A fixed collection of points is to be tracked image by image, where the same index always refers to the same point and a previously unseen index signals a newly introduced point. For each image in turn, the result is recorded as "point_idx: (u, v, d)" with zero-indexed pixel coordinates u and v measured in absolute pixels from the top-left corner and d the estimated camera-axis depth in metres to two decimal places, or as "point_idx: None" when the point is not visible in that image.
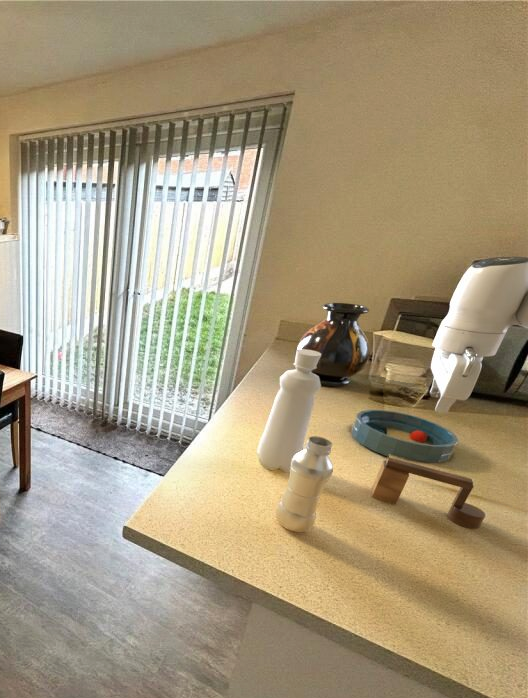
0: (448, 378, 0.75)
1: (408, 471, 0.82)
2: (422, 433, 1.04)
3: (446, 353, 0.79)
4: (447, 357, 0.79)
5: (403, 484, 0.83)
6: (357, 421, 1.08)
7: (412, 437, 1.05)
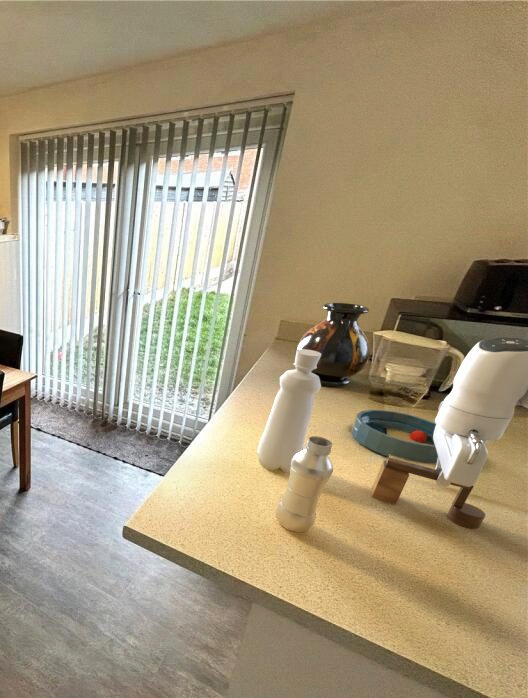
0: (452, 463, 0.72)
1: (408, 471, 0.82)
2: (422, 433, 1.04)
3: (450, 432, 0.76)
4: (451, 437, 0.75)
5: (403, 484, 0.83)
6: (357, 421, 1.08)
7: (412, 437, 1.05)
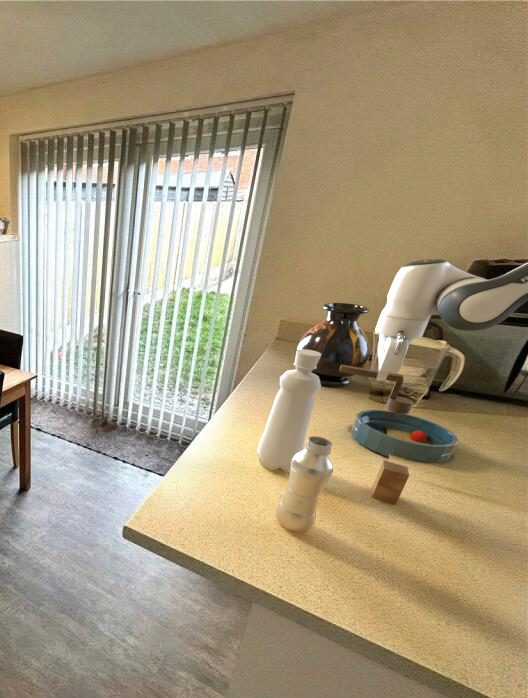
0: (384, 356, 0.94)
1: (356, 373, 1.05)
2: (422, 433, 1.04)
3: (385, 336, 0.98)
4: (385, 340, 0.98)
5: (403, 484, 0.83)
6: (357, 421, 1.08)
7: (412, 437, 1.05)
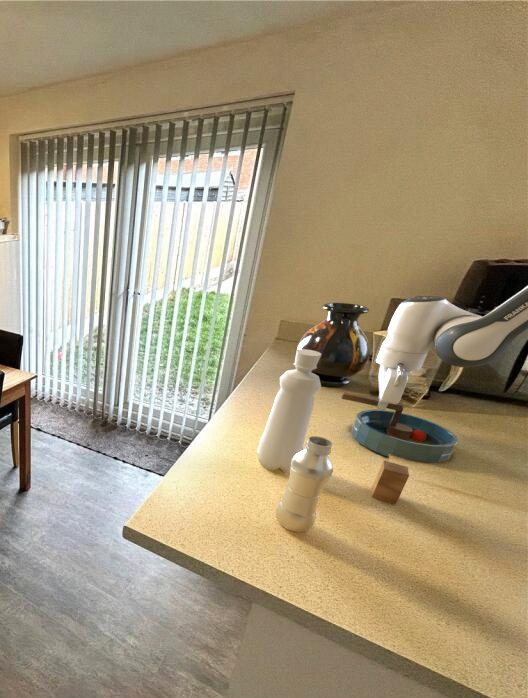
0: (384, 387, 0.98)
1: (357, 401, 1.09)
2: (421, 431, 1.05)
3: (385, 367, 1.02)
4: (386, 370, 1.02)
5: (403, 484, 0.83)
6: (357, 421, 1.08)
7: (412, 436, 1.06)
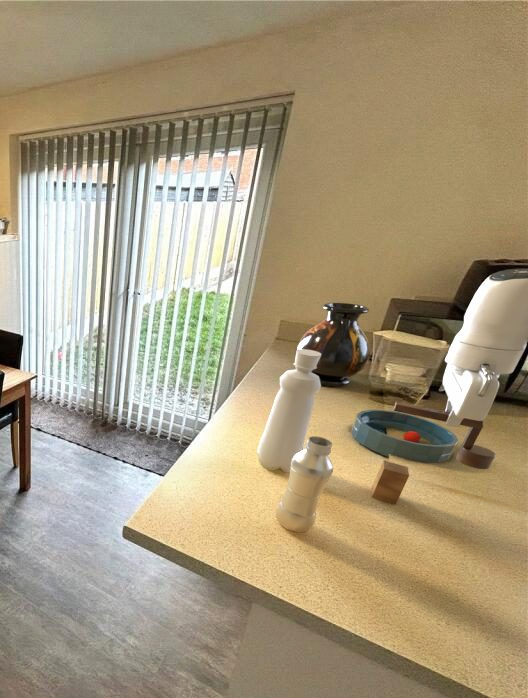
0: (463, 397, 0.71)
1: (417, 414, 0.82)
2: (409, 437, 1.04)
3: (460, 370, 0.75)
4: (461, 374, 0.75)
5: (403, 484, 0.83)
6: (357, 421, 1.08)
7: None
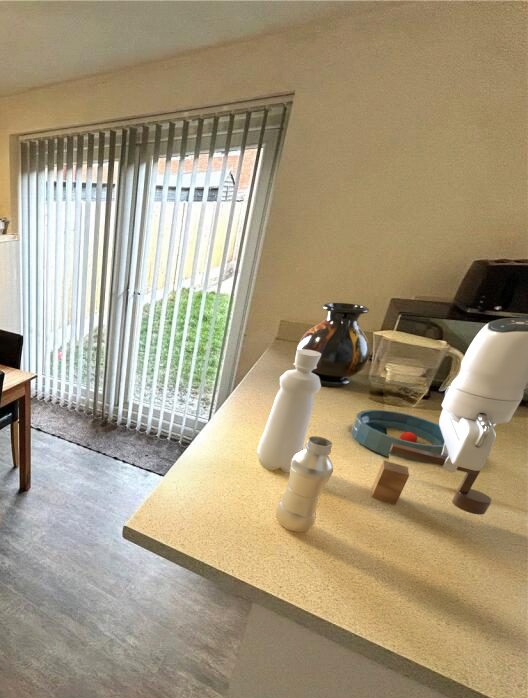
0: (460, 447, 0.70)
1: (413, 457, 0.81)
2: None
3: (457, 416, 0.74)
4: (458, 421, 0.74)
5: (403, 484, 0.83)
6: (357, 421, 1.08)
7: None
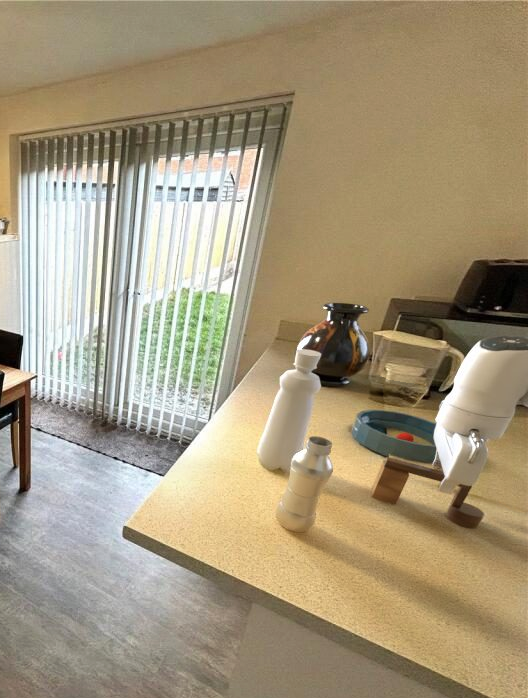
0: (453, 462, 0.71)
1: (407, 471, 0.83)
2: None
3: (450, 431, 0.75)
4: (451, 436, 0.75)
5: (403, 484, 0.83)
6: (357, 421, 1.08)
7: None
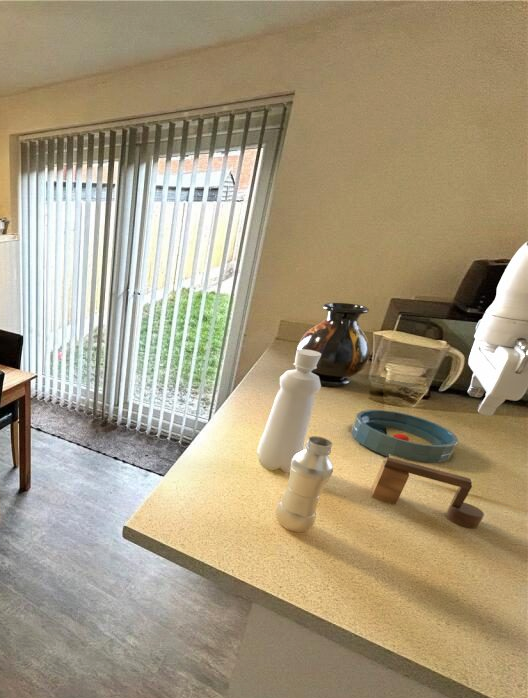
0: (497, 375, 0.65)
1: (407, 471, 0.83)
2: None
3: (492, 346, 0.69)
4: (493, 351, 0.68)
5: (403, 484, 0.83)
6: (357, 421, 1.08)
7: None
